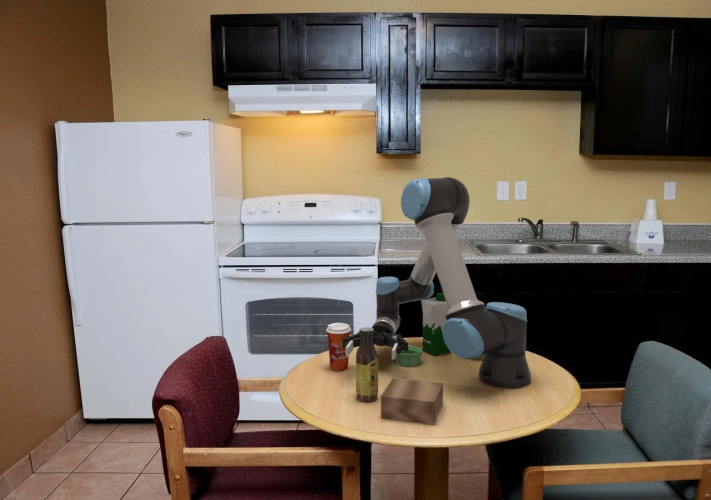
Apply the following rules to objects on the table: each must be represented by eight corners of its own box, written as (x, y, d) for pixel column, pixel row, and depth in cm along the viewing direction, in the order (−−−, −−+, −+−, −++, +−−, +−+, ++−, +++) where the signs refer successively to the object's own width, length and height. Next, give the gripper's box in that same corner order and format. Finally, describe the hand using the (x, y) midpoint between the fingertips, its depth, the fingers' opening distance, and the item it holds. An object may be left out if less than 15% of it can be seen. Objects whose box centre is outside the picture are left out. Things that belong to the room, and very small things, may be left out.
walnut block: (442, 403, 163) (443, 383, 162) (434, 424, 151) (434, 402, 150) (392, 398, 167) (392, 377, 166) (380, 418, 155) (380, 396, 154)
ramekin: (418, 368, 190) (418, 355, 189) (391, 366, 193) (391, 352, 192) (424, 359, 198) (424, 346, 197) (397, 356, 201) (397, 344, 200)
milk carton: (454, 352, 204) (455, 295, 201) (432, 357, 200) (433, 299, 196) (439, 345, 211) (439, 290, 208) (417, 350, 207) (418, 293, 204)
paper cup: (332, 374, 186) (331, 330, 183) (323, 365, 193) (322, 324, 190) (355, 370, 189) (354, 327, 186) (346, 362, 196) (345, 321, 193)
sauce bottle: (375, 403, 164) (374, 333, 160) (353, 401, 165) (352, 332, 162) (380, 394, 170) (380, 326, 167) (359, 392, 172) (358, 325, 168)
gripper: (421, 345, 191) (412, 368, 171) (345, 341, 197) (328, 363, 176) (421, 322, 190) (412, 343, 170) (344, 318, 195) (327, 338, 175)
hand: (369, 353), depth 173 cm, fingers open, 13 cm apart
